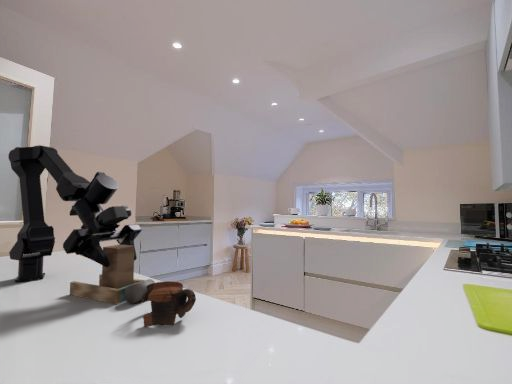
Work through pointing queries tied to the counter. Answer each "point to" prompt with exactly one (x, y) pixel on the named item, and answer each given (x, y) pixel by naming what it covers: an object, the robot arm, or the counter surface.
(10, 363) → the counter surface
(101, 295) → the wooden u-shaped frame
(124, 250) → the tall brown box
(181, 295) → the pottery mug
